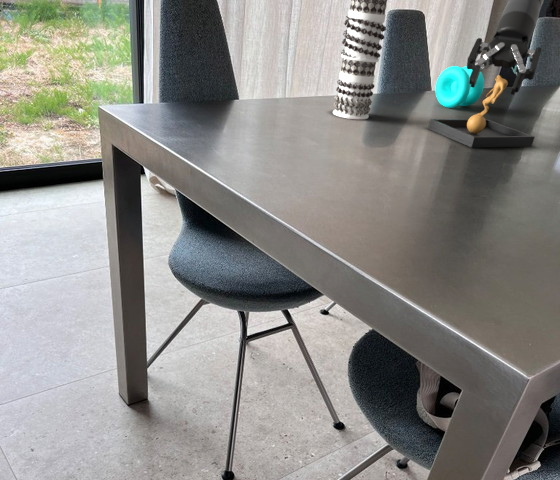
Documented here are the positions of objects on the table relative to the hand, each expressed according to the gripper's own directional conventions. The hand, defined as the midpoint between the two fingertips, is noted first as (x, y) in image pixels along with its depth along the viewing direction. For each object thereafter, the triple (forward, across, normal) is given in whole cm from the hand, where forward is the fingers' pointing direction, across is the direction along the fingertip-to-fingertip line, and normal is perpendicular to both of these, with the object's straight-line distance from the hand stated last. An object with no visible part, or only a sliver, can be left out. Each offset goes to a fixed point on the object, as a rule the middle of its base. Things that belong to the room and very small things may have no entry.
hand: (492, 88), depth 120 cm
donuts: (-17, -12, +32) cm, 38 cm away
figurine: (+6, 0, +8) cm, 10 cm away
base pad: (+6, 0, +8) cm, 10 cm away
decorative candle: (+9, -29, +5) cm, 31 cm away
